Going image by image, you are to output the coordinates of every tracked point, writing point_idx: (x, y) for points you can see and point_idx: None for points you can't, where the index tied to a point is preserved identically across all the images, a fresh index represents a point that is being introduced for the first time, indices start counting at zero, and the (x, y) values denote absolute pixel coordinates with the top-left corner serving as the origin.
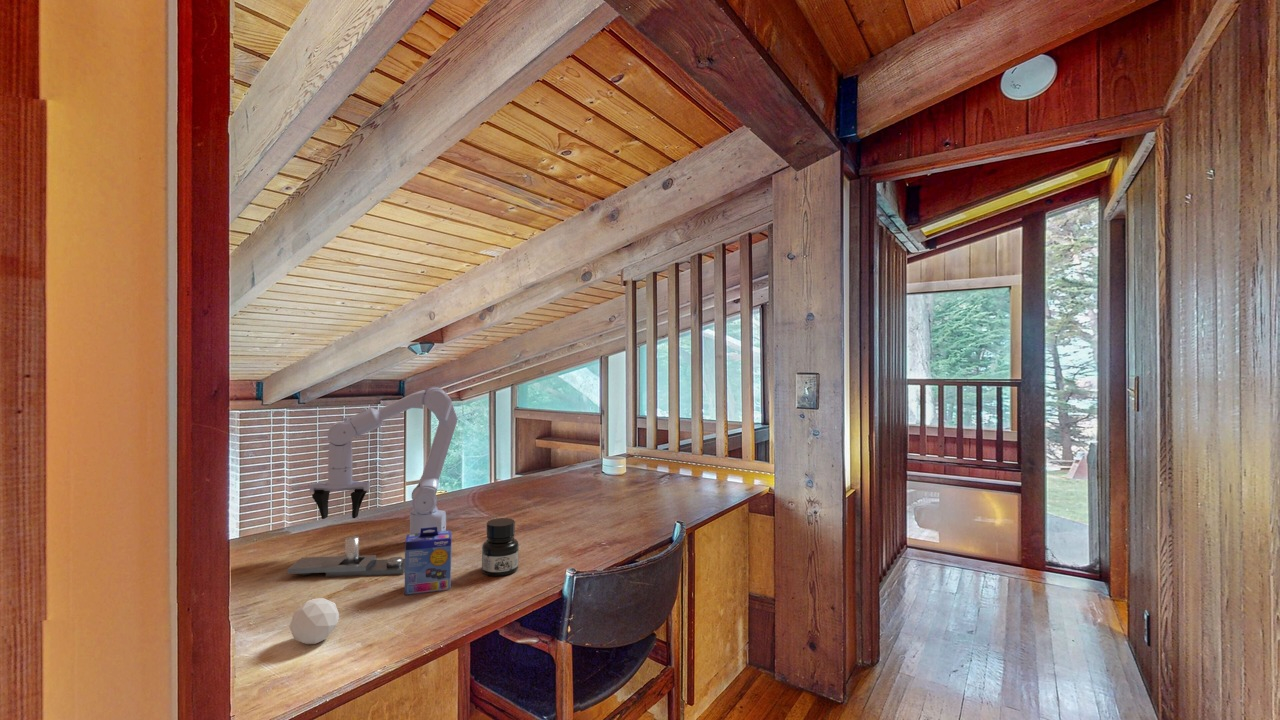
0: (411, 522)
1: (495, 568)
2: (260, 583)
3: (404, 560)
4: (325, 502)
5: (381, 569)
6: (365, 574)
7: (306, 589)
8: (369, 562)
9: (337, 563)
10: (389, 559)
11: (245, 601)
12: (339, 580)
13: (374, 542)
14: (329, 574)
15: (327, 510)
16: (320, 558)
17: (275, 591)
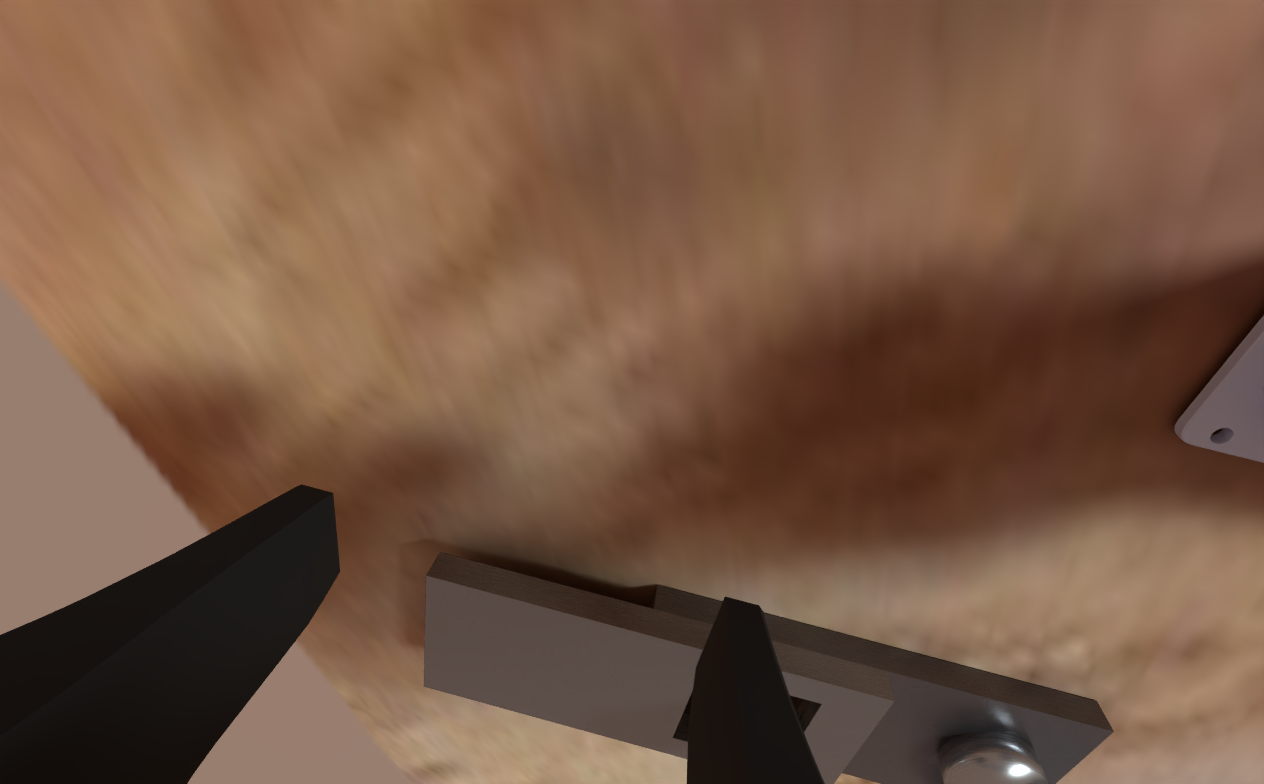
0: None
1: None
2: (351, 637)
3: (1060, 738)
4: (125, 758)
5: (902, 782)
6: None
7: (575, 751)
8: (844, 765)
9: (665, 719)
10: (966, 781)
11: (392, 749)
12: None
13: (912, 167)
14: None
15: (263, 567)
16: (546, 627)
17: (458, 722)
